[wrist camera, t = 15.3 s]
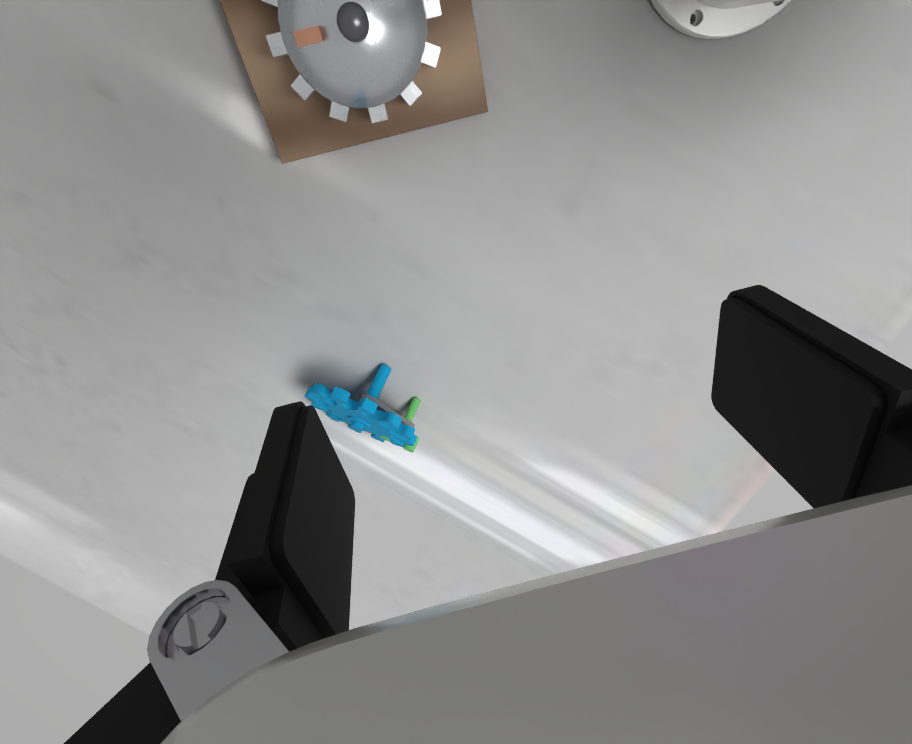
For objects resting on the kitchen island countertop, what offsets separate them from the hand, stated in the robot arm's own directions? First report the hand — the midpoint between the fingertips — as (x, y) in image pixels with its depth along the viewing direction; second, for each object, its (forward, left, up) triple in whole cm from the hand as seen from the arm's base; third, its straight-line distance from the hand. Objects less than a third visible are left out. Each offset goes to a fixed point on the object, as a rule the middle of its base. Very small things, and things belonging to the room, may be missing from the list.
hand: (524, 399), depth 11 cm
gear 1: (+2, -9, -27) cm, 28 cm away
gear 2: (+10, +17, -29) cm, 35 cm away
